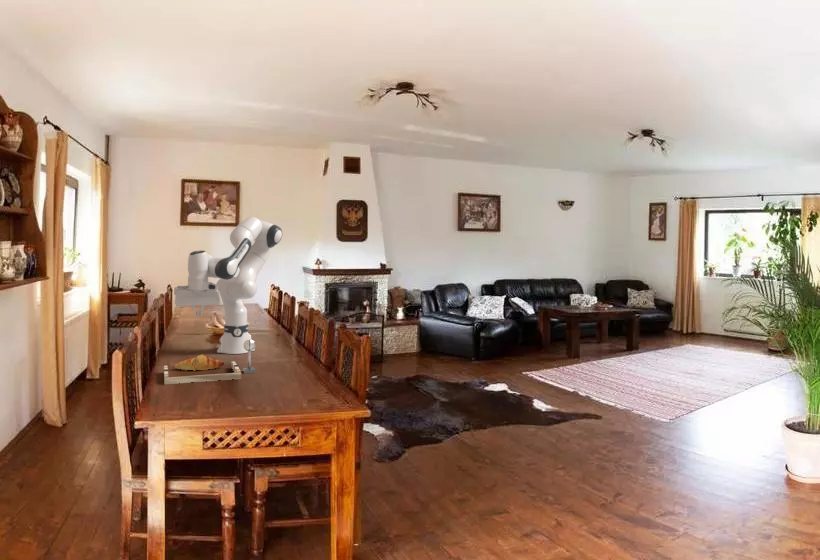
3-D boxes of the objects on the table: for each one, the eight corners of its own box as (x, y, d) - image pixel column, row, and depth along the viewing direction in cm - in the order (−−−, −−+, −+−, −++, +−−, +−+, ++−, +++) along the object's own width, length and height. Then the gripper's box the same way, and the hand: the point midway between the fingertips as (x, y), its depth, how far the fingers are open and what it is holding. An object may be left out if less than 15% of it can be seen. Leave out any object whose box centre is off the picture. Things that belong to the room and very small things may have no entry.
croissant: (174, 379, 257) (172, 365, 253) (176, 364, 265) (174, 350, 261) (224, 376, 263) (223, 362, 259) (224, 361, 271) (224, 348, 267)
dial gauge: (242, 371, 260) (242, 339, 259) (254, 370, 262) (254, 338, 261) (244, 373, 255) (244, 341, 254) (255, 372, 257) (256, 340, 256)
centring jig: (163, 372, 254) (163, 364, 253) (235, 367, 266) (235, 360, 265) (164, 384, 233) (164, 376, 233) (241, 378, 245) (241, 370, 245)
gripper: (174, 286, 263) (174, 316, 264) (221, 285, 271) (221, 315, 272) (173, 285, 268) (174, 314, 269) (220, 284, 277) (220, 313, 278)
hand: (198, 315), depth 271 cm, fingers closed
